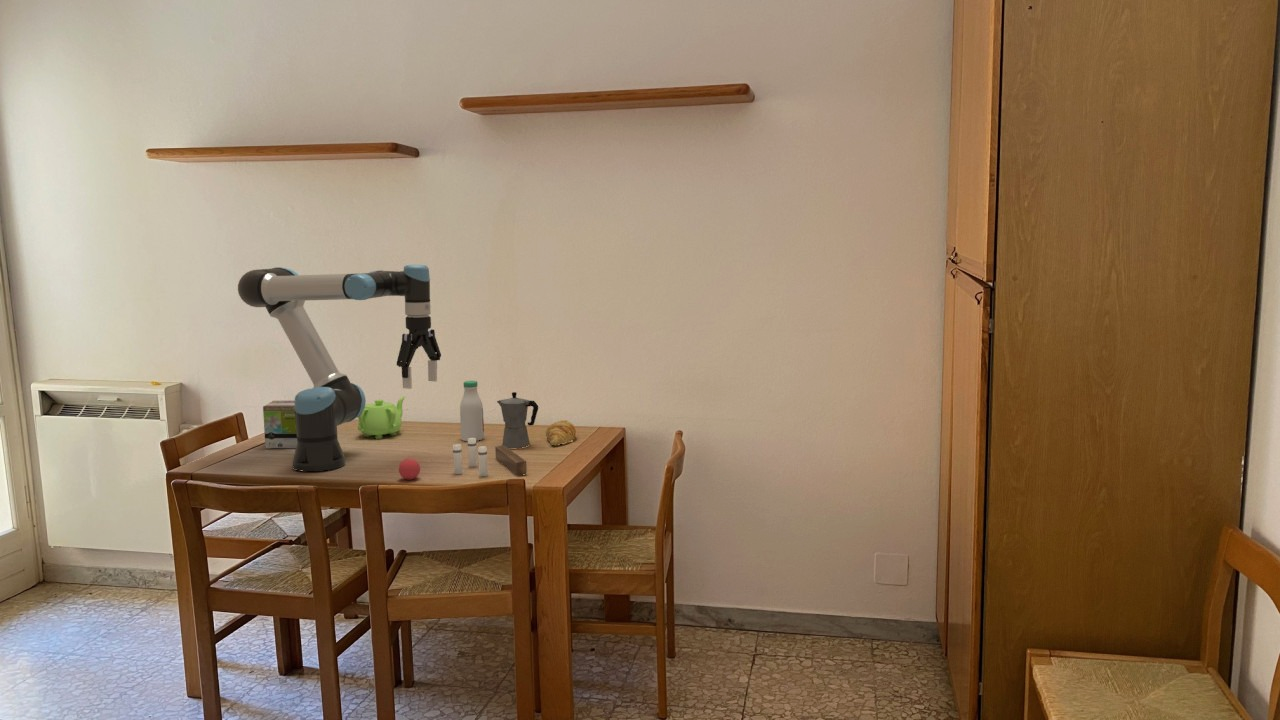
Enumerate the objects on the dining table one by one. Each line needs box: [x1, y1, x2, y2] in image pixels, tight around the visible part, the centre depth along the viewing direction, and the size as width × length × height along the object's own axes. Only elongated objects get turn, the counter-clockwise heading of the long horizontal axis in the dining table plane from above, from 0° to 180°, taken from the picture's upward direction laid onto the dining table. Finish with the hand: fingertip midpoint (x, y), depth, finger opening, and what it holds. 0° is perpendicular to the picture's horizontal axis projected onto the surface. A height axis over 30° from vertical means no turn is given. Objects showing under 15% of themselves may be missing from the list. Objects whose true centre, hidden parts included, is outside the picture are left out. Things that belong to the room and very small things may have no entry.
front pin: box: [452, 443, 463, 475], centre depth 273 cm, size 3×3×8 cm
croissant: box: [545, 420, 576, 446], centre depth 313 cm, size 21×10×8 cm, turn 172°
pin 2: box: [477, 445, 489, 478], centre depth 270 cm, size 3×3×8 cm
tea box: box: [262, 400, 297, 450], centre depth 310 cm, size 15×10×15 cm
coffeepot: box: [496, 391, 539, 449], centre depth 304 cm, size 15×9×18 cm, turn 66°
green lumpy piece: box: [357, 396, 406, 440], centre depth 325 cm, size 16×14×13 cm
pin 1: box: [467, 438, 478, 468], centre depth 281 cm, size 3×3×8 cm
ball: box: [398, 458, 421, 480], centre depth 267 cm, size 6×6×6 cm
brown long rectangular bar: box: [495, 445, 528, 476], centre depth 280 cm, size 3×22×4 cm, turn 25°
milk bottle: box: [459, 380, 485, 442], centre depth 315 cm, size 8×8×20 cm
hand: (420, 384), depth 286 cm, fingers open, 13 cm apart
